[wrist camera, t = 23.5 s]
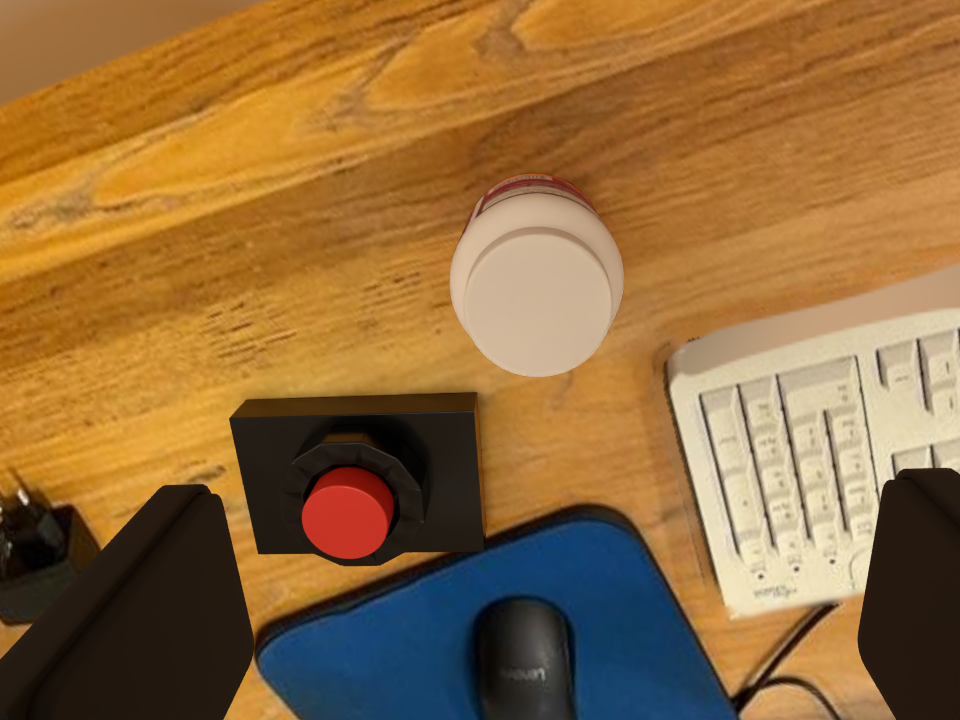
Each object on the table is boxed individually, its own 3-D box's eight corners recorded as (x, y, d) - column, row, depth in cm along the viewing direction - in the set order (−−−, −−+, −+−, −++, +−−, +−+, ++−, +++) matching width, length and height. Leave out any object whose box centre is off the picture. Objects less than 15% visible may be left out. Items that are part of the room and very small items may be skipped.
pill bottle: (542, 330, 33) (549, 436, 23) (439, 252, 32) (398, 327, 22) (629, 228, 31) (680, 294, 21) (522, 141, 30) (520, 165, 20)
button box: (477, 391, 34) (471, 428, 31) (486, 526, 37) (482, 574, 34) (245, 399, 35) (212, 435, 32) (272, 530, 38) (245, 577, 35)
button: (389, 464, 32) (382, 484, 30) (398, 536, 34) (392, 559, 32) (306, 466, 32) (294, 486, 31) (318, 537, 34) (308, 560, 32)
